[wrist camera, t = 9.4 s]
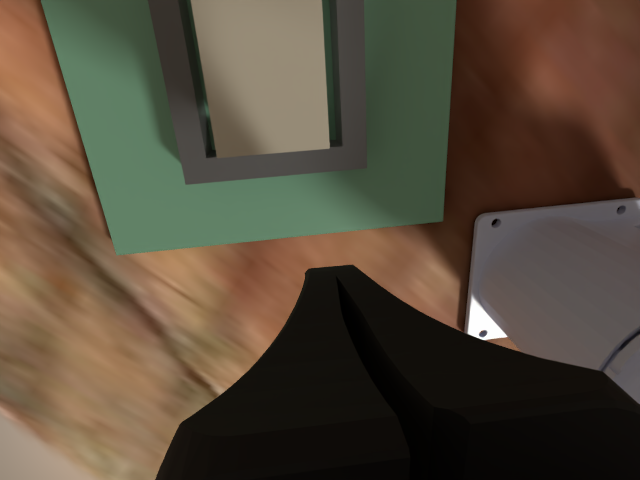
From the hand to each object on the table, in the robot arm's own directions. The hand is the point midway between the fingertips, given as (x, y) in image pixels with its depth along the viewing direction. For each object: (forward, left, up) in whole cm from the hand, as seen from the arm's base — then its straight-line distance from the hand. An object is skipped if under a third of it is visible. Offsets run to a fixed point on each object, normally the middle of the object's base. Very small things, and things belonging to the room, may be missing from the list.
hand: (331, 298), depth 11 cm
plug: (+1, -6, -9) cm, 11 cm away
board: (+1, -6, -9) cm, 11 cm away
